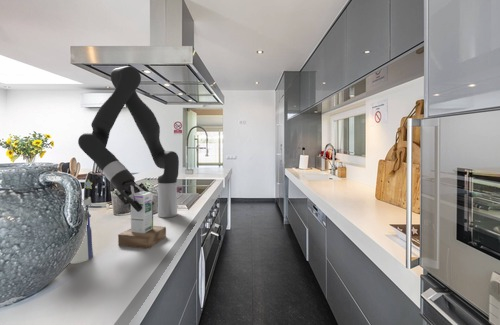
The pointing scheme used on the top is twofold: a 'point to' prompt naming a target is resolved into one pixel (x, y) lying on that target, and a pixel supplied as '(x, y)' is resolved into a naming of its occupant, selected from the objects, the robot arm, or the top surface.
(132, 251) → the top surface
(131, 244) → the walnut block
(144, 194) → the syrup box
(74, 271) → the top surface
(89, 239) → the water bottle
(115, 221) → the top surface
